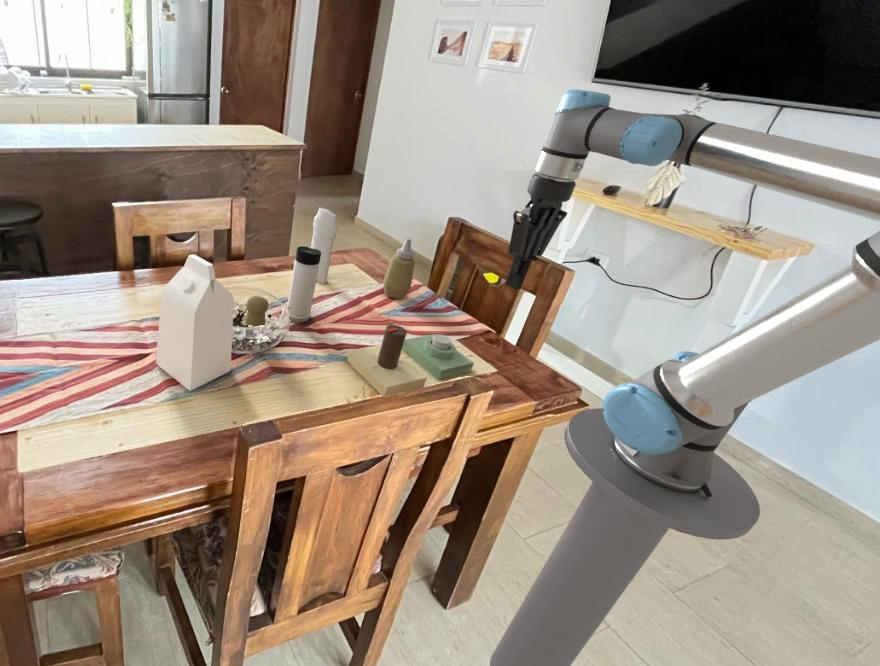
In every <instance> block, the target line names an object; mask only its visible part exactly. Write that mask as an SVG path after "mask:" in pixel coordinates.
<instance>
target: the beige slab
mask: <svg viewBox="0 0 880 666" xmlns="http://www.w3.org/2000/svg"><path fill="white" fill-rule="evenodd" d="M381 345H382V343H381V344H377V345H371V346H366V347H361V348H356V349H351V350H349V351H348V355H347V359H346V362H347V363H348V364H349V365H350V366H351V367H352V368H353V369H354V370H356V372H357V373H359V375H361V376H362V378H364V380H365V381H366V382H367V383H368V384H369V385H370V386H372V388H373V389H374V390H375V391H376V392H378V394H379V395H380V396H382V397H383V396H387V395H392V394H397V393H402V392H406V393H408V392H407V391H411V390H415V391H418V390H417V389H419V390H422V388H423V389H424V387H425V384H426V381H427V376H426V375H424V374H423V373H422V372H421V371H420V370H419V369H417V368H416V367H415V366H414V365H412V363H410V362H409V361H408V360H407V359H405V358H404V357H403V356H402V355H401V354H400V357H399V361H398V364H397V367H396V368H395V369H386V368H383V367H381V366H380V365H379V364H378V362H377V360H378V356H379V353H380V349H381ZM411 392H412V391H411ZM402 394H403V393H402Z"/></svg>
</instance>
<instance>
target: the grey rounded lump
mask: <svg viewBox="0 0 880 666" xmlns="http://www.w3.org/2000/svg"><path fill="white" fill-rule="evenodd" d="M450 343H452V340H451V338H450V337H448V336H447V335H444V334H439V333H438V334H437V333H436V335H434V337H433V340H432V346H434V347H435V348H437V349H440V350H448V349H449V346H450Z"/></svg>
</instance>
